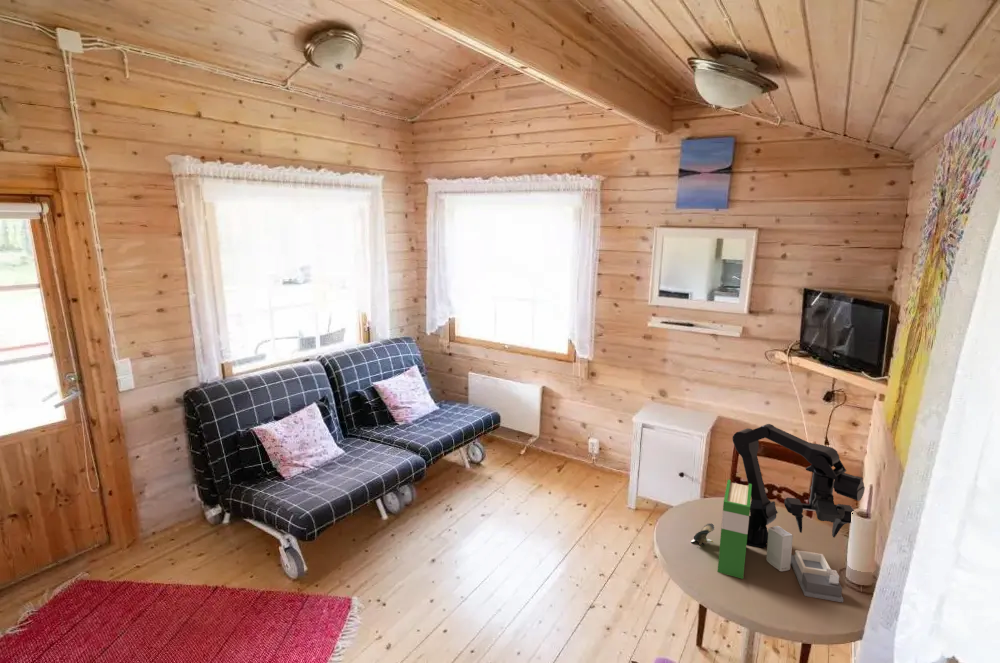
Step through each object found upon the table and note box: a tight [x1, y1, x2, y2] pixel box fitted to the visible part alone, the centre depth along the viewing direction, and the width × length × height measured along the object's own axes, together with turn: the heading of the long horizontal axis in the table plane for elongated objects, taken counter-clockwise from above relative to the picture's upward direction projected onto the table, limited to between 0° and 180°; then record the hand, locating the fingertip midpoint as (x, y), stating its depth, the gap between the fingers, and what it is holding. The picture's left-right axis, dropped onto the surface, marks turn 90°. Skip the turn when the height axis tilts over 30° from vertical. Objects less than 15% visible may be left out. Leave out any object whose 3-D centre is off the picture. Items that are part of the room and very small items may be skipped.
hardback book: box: [717, 478, 752, 580], centre depth 170 cm, size 18×7×24 cm, turn 153°
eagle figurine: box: [690, 523, 715, 549], centre depth 178 cm, size 8×7×9 cm
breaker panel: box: [791, 549, 844, 603], centre depth 163 cm, size 10×20×4 cm, turn 164°
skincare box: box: [766, 525, 794, 572], centre depth 168 cm, size 6×4×12 cm
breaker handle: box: [826, 568, 840, 585], centre depth 155 cm, size 2×3×3 cm
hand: (816, 534), depth 164 cm, fingers open, 9 cm apart
